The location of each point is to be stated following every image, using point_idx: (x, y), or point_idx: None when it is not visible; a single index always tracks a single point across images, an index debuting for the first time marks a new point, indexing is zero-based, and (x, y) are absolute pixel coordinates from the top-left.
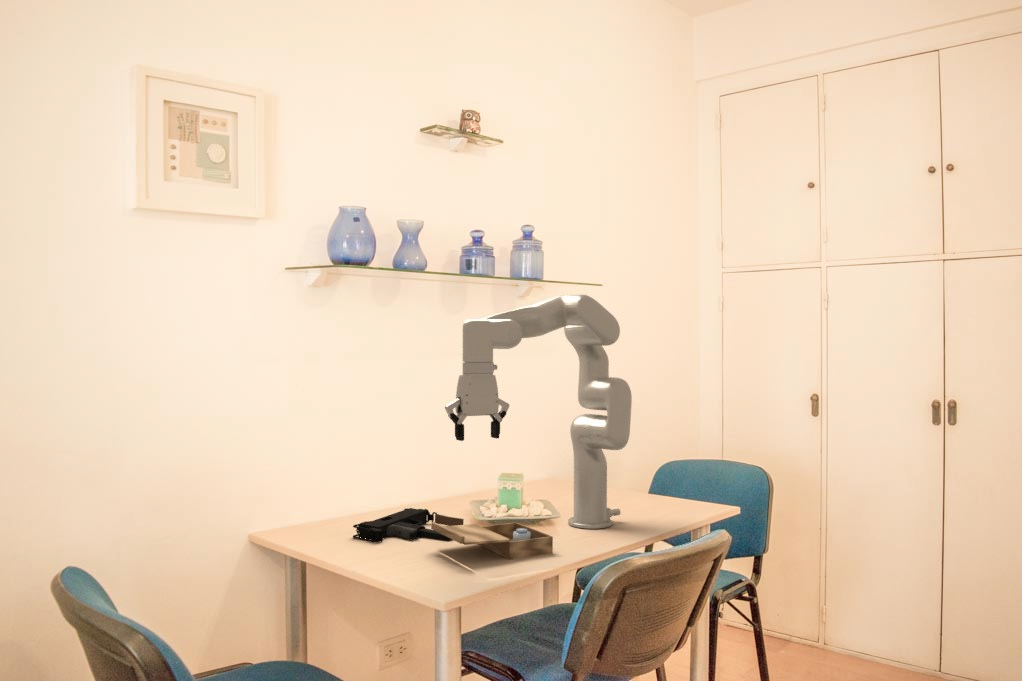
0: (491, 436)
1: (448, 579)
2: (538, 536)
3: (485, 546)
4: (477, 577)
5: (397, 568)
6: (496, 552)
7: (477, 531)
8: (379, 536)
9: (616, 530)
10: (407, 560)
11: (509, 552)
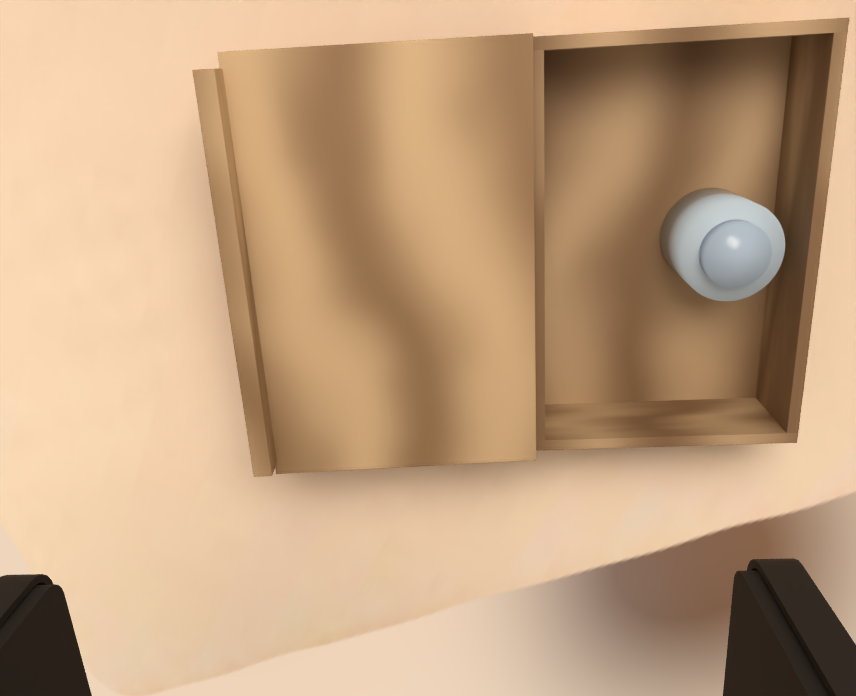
0: (736, 594)
1: (192, 517)
2: (789, 314)
3: None
4: (304, 540)
5: (22, 296)
6: None
7: (447, 248)
8: None
9: None
10: (88, 188)
11: None
